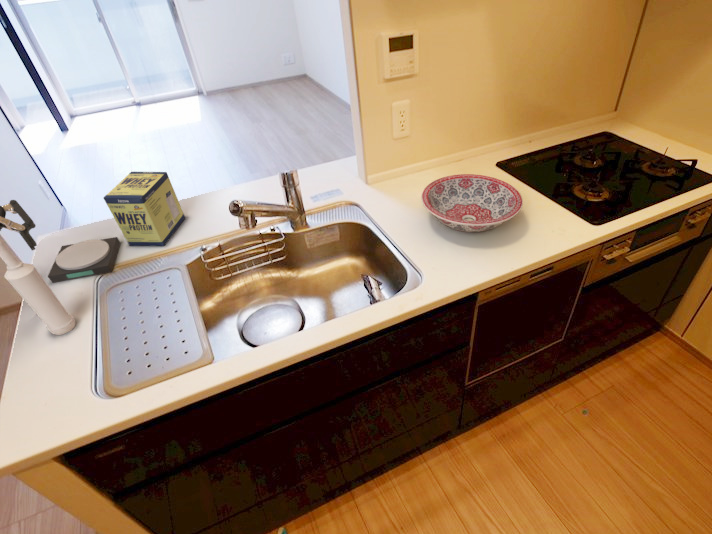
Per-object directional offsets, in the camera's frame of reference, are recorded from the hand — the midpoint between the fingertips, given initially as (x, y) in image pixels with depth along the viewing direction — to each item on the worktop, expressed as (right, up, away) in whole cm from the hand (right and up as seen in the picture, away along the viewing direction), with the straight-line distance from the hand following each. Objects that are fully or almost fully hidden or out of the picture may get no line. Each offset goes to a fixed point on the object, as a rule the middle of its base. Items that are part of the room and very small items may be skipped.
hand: (9, 257), depth 87 cm
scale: (-5, +2, +29) cm, 29 cm away
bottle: (+3, -15, +11) cm, 19 cm away
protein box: (+8, +12, +40) cm, 42 cm away
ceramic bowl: (+101, +15, +42) cm, 111 cm away
